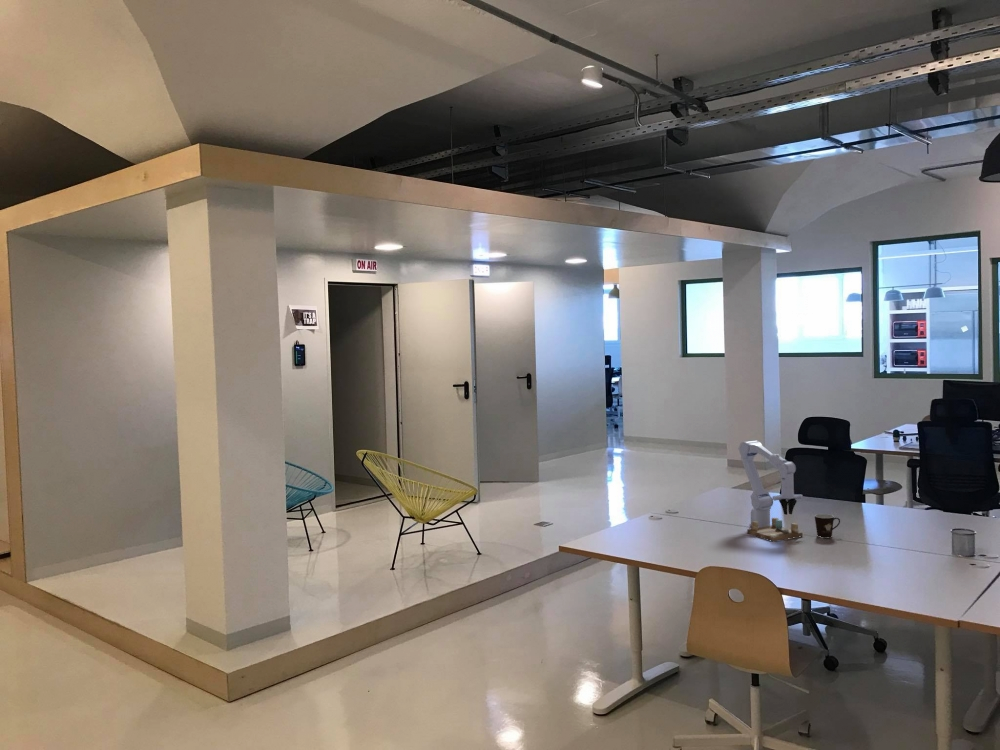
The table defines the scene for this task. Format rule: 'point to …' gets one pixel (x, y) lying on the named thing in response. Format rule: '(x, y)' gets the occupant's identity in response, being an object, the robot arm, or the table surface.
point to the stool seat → (774, 531)
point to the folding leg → (780, 526)
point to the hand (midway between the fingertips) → (787, 514)
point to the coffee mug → (825, 524)
